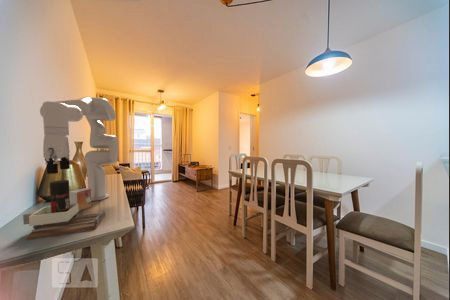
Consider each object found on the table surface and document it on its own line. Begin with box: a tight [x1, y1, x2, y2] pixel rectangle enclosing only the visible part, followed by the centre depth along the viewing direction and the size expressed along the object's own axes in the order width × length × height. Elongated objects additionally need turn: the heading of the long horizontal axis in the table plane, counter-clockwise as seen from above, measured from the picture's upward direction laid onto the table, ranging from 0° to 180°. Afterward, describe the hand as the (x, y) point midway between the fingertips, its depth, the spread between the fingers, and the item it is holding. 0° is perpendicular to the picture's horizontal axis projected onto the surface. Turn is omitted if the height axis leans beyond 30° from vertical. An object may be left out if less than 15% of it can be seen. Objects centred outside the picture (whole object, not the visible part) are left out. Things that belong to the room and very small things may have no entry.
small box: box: [69, 187, 92, 212], centre depth 93 cm, size 8×6×10 cm
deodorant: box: [49, 179, 70, 213], centre depth 73 cm, size 6×6×15 cm
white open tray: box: [22, 203, 80, 229], centre depth 72 cm, size 10×15×6 cm, turn 112°
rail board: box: [25, 209, 106, 241], centre depth 75 cm, size 14×22×4 cm, turn 112°
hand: (59, 171), depth 72 cm, fingers open, 9 cm apart
